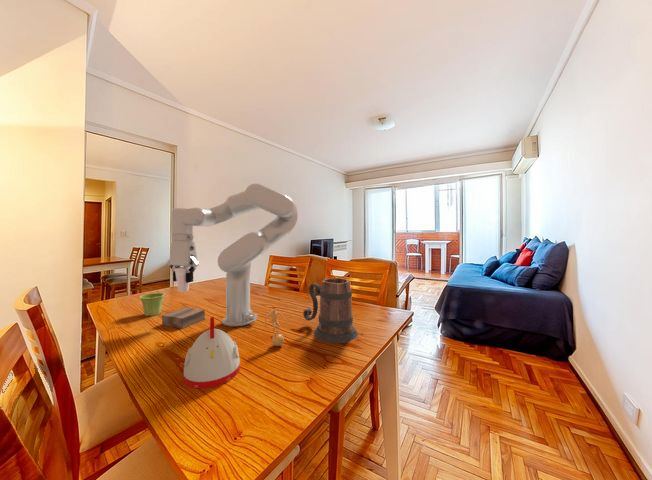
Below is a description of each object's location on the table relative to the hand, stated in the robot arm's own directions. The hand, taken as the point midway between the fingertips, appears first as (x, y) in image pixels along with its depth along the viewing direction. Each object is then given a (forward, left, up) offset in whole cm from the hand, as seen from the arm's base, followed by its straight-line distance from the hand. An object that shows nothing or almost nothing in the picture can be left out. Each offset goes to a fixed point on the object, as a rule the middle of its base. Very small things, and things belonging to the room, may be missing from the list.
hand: (183, 281), depth 105 cm
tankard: (-60, -11, -17) cm, 64 cm away
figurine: (-47, +6, -17) cm, 51 cm away
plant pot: (+22, -3, -17) cm, 28 cm away
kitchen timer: (-39, +26, -18) cm, 50 cm away
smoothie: (0, 0, -4) cm, 4 cm away
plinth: (0, 0, -17) cm, 17 cm away
